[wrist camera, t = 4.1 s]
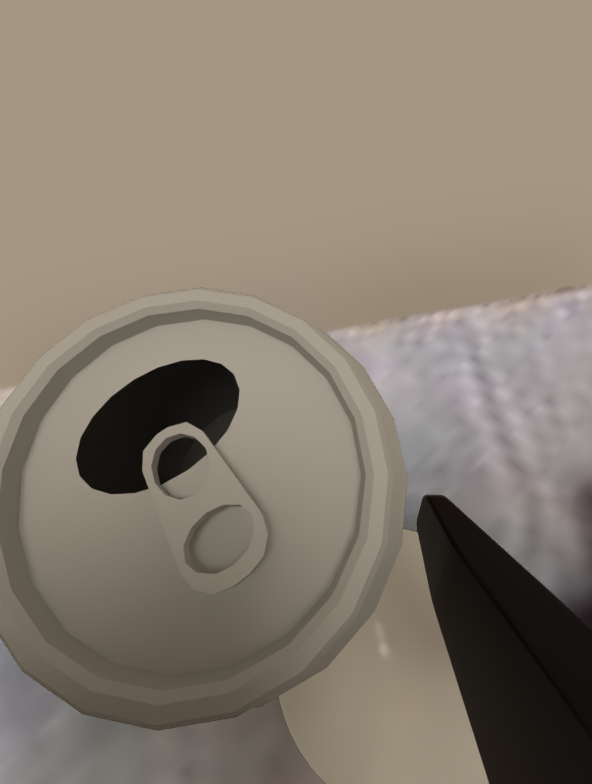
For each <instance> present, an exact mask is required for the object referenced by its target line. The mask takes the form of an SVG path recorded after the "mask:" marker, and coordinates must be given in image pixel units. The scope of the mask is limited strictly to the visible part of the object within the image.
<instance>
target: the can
mask: <svg viewBox="0 0 592 784" xmlns="http://www.w3.org/2000/svg"><path fill="white" fill-rule="evenodd" d="M406 487H407V475H406V471H405V466H404V462H403V458H402V453H401V449H400V444H399V440H398V436H397V431H396V427H395V423H394V418H393V416H392V414H391V413H390V411H389V409H388V407H387V406H386V404H385V402H384V401H383V399H382V397H381V395H380V394H379V392H378V390H377V389H376V387H375V385H374V383H373V382H372V380H371V378H370V377H369V375H368V373H367V372H366V370H365V368H364V367H363V366H362V365H361V364H360V363H359V362H358V361H357V360H356V359H355V358H353V357H352V356H351V355H350V354H349V353H348V352H347V351H346V350H345V349H344V348H342V347H341V346H340V345H339V344H338V343H337V342H336V341H335V340H334V339H332V338H331V337H330V336H329V335H328V334H327V333H326V332H325V331H324V330H322V329H320V328H318V327H316V326H314V325H313V324H311V323H310V322H309V321H308V320H307V319H305V318H303V317H301V316H299V315H297V314H295V313H293V312H290V311H288V310H286V309H284V308H282V307H280V306H277V305H275V304H273V303H271V302H269V301H267V300H264V299H262V298H260V297H258V296H256V295H250V294H243V293H235V292H229V291H222V290H215V289H208V288H201V287H200V288H192V289H185V290H178V291H170V292H163V293H156V294H149V295H143V296H140V297H138V298H136V299H133V300H131V301H129V302H126V303H124V304H122V305H119V306H117V307H114V308H112V309H110V310H107V311H105V312H103V313H100V314H98V315H96V316H93V317H91V318H89V319H88V320H87V321H85V322H84V323H82V324H81V325H80V326H79V327H77V328H76V329H75V330H73V331H72V332H71V333H69V334H68V335H67V336H66V337H64V338H63V339H62V340H61V341H59V342H58V343H57V344H55V345H54V346H53V347H51V348H50V349H49V350H48V351H46V352H45V353H44V354H42V355H41V356H40V357H39V359H38V360H37V361H36V362H35V364H34V365H33V366H32V368H31V369H30V370H29V371H28V373H27V374H26V375H25V377H24V378H23V379H22V381H21V382H20V383H19V384H18V386H17V387H16V388H15V390H14V391H13V392H12V394H11V395H10V396H9V397H8V399H7V400H6V401H5V403H4V404H3V405H2V407H1V408H0V637H1V639H2V640H3V642H4V644H5V645H6V647H7V648H8V650H9V651H10V653H11V654H12V656H13V658H14V659H15V661H16V662H17V664H18V665H19V667H20V669H21V670H22V671H23V672H24V673H25V674H27V675H28V676H30V677H31V678H32V679H34V680H35V681H37V682H38V683H40V684H41V685H42V686H44V687H45V688H47V689H48V690H49V691H51V692H52V693H54V694H55V695H57V696H58V697H59V698H61V699H62V700H64V701H65V702H66V703H68V704H69V705H71V706H72V707H74V708H75V709H76V710H78V711H79V712H81V713H82V714H85V715H89V716H94V717H98V718H103V719H107V720H112V721H117V722H121V723H126V724H130V725H135V726H139V727H144V728H149V729H153V730H164V729H170V728H175V727H181V726H187V725H193V724H199V723H204V722H210V721H216V720H222V719H227V718H233V717H237V716H239V715H240V714H242V713H244V712H246V711H247V710H249V709H251V708H253V707H259V706H263V705H264V704H266V703H268V702H270V701H271V700H273V699H275V698H276V697H278V696H280V695H282V694H283V693H285V692H287V691H288V690H290V689H292V688H293V687H295V686H297V685H299V684H300V683H302V682H304V681H305V680H307V679H309V678H310V677H312V676H314V675H316V674H317V673H319V672H321V671H322V670H324V669H326V668H327V667H328V666H329V665H330V664H331V662H332V661H333V660H334V659H335V658H336V656H337V655H338V654H339V653H340V652H341V651H342V649H343V648H344V647H345V646H346V645H347V644H348V642H349V641H350V640H351V639H352V638H353V636H354V635H355V634H356V633H357V632H358V631H359V629H360V628H361V627H362V626H363V625H364V624H365V622H366V621H367V620H368V619H369V618H370V616H371V615H372V614H373V613H374V612H375V610H376V607H377V605H378V603H379V600H380V598H381V595H382V593H383V590H384V588H385V585H386V583H387V580H388V578H389V576H390V573H391V571H392V568H393V566H394V563H395V561H396V558H397V556H398V553H399V551H400V549H401V546H402V537H403V525H404V512H405V500H406Z"/></svg>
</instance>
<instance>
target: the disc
mask: <svg viewBox="0 0 592 784" xmlns="http://www.w3.org/2000/svg"><path fill="white" fill-rule="evenodd" d="M279 700H280V704H281V709H282V712H283V715H284V718H285V721H286V723H287V726H288V729H289V731H290V733H291V735H292V737H293V739H294V741H295V743H296V745H297V747H298V749H299V751H300V752H301V754H302V755H303V757H304V758H305V760H306V761H307V763H308V764H309V766H310V767H311V768H312V769H313V770H314V772H315V773H316V774H317V775H318V776H319V777H320V779H321V780H322V781H323V782H325V783H326V784H489V782H488V779H487V776H486V772H485V769H484V766H483V763H482V760H481V756H480V753H479V750H478V747H477V744H476V741H475V737H474V734H473V731H472V728H471V725H470V722H469V718H468V715H467V712H466V709H465V706H464V702H463V699H462V696H461V693H460V690H459V687H458V683H457V680H456V677H455V674H454V671H453V667H452V664H451V661H450V658H449V655H448V652H447V648H446V645H445V642H444V639H443V636H442V633H441V629H440V626H439V623H438V620H437V617H436V613H435V610H434V607H433V603H432V599H431V595H430V590H429V586H428V581H427V576H426V571H425V566H424V561H423V556H422V551H421V546H420V541H419V537H418V532H415V531H411V530H407V529H403V537H402V546H401V549H400V551H399V553H398V556H397V558H396V561H395V563H394V566H393V568H392V571H391V573H390V576H389V578H388V580H387V583H386V585H385V588H384V590H383V593H382V595H381V598H380V600H379V603H378V605H377V607H376V610H375V612H374V613H373V614H372V615H371V616H370V618H369V619H368V620H367V621H366V622H365V624H364V625H363V626H362V627H361V628H360V629H359V631H358V632H357V633H356V634H355V635H354V636H353V638H352V639H351V640H350V641H349V642H348V644H347V645H346V646H345V647H344V648H343V649H342V651H341V652H340V653H339V654H338V655H337V656H336V658H335V659H334V660H333V661H332V662H331V664H330V665H329V666H328V667H327V668H326V669H324V670H322V671H321V672H319V673H317V674H316V675H314V676H312V677H310V678H309V679H307V680H305V681H304V682H302V683H300V684H299V685H297V686H295V687H293V688H292V689H290V690H288V691H287V692H285V693H283V694H282V695H280V696H279Z"/></svg>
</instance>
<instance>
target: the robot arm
mask: <svg viewBox="0 0 592 784" xmlns="http://www.w3.org/2000/svg"><path fill="white" fill-rule="evenodd" d="M417 532H418V537H419V541H420V546H421V551H422V556H423V561H424V566H425V571H426V576H427V581H428V586H429V590H430V595H431V599H432V603H433V607H434V610H435V613H436V617H437V620H438V623H439V626H440V629H441V633H442V636H443V639H444V642H445V645H446V648H447V652H448V655H449V658H450V661H451V664H452V667H453V671H454V674H455V677H456V680H457V683H458V687H459V690H460V693H461V696H462V699H463V702H464V706H465V709H466V712H467V715H468V718H469V722H470V725H471V728H472V731H473V734H474V737H475V741H476V744H477V747H478V750H479V753H480V756H481V760H482V763H483V766H484V769H485V772H486V776H487V779H488V782H489V784H592V629H591V628H590V627H589V626H588V625H587V624H586V623H584V622H583V621H582V620H581V619H580V618H579V617H578V616H577V615H576V614H574V613H573V612H572V611H571V610H570V609H569V608H568V607H567V606H566V605H565V604H563V603H562V602H561V601H560V600H559V599H558V598H557V597H556V596H555V595H554V594H552V593H551V592H550V591H549V590H548V589H547V588H546V587H545V586H544V585H543V584H541V583H540V582H539V581H538V580H537V579H536V578H535V577H534V576H533V575H531V574H530V573H529V572H528V571H527V570H526V569H525V568H524V567H523V566H522V565H520V564H519V563H518V562H517V561H516V560H515V559H514V558H513V557H512V556H511V555H509V554H508V553H507V552H506V551H505V550H504V549H503V548H502V547H501V546H500V545H498V544H497V543H496V542H495V541H494V540H493V539H492V538H491V537H490V536H488V535H487V534H486V533H485V532H484V531H483V530H482V529H481V528H480V527H479V526H477V525H476V524H475V523H474V522H473V521H472V520H471V519H470V518H469V517H468V516H466V515H465V514H464V513H463V512H462V511H461V510H460V509H459V508H458V507H456V506H455V505H454V504H453V503H452V502H451V501H450V500H449V499H448V498H446V497H445V496H443V495H425V496H424V497H423V499H422V503H421V506H420V510H419V514H418V518H417Z"/></svg>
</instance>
